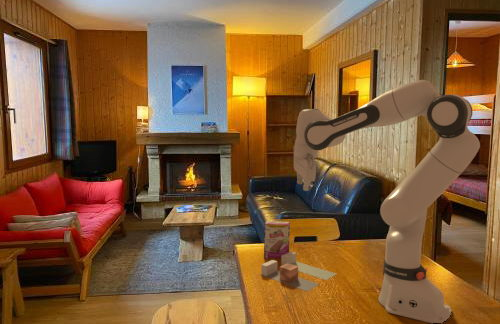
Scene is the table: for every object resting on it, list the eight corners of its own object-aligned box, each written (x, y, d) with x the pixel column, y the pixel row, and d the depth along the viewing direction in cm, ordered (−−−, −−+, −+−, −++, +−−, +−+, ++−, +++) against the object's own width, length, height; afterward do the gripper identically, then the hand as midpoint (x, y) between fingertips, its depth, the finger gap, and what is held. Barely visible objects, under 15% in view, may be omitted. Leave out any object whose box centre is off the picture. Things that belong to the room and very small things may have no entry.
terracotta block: (298, 279, 149) (298, 266, 148) (290, 283, 145) (290, 270, 144) (287, 275, 152) (287, 263, 151) (279, 279, 148) (279, 266, 148)
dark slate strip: (319, 286, 144) (319, 273, 144) (307, 294, 138) (307, 280, 138) (272, 271, 159) (272, 259, 158) (260, 277, 153) (260, 264, 152)
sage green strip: (336, 276, 154) (337, 264, 153) (326, 282, 148) (326, 269, 147) (291, 262, 168) (291, 251, 168) (280, 267, 162) (280, 256, 162)
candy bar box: (263, 259, 172) (264, 223, 170) (264, 255, 177) (264, 220, 175) (289, 260, 171) (289, 224, 169) (289, 256, 176) (289, 221, 174)
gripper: (322, 157, 137) (318, 195, 140) (307, 147, 157) (304, 180, 160) (304, 156, 137) (300, 194, 139) (292, 146, 156) (289, 180, 159)
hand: (302, 186), depth 150 cm, fingers open, 8 cm apart
